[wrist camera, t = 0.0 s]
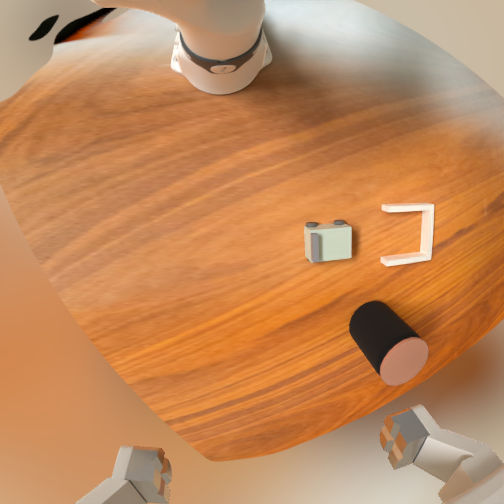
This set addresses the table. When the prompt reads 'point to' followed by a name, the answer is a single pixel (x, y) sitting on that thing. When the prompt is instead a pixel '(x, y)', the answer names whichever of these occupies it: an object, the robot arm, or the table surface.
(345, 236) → the sage cart
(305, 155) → the table surface
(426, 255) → the dock bay
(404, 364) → the coffee jar
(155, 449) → the robot arm
